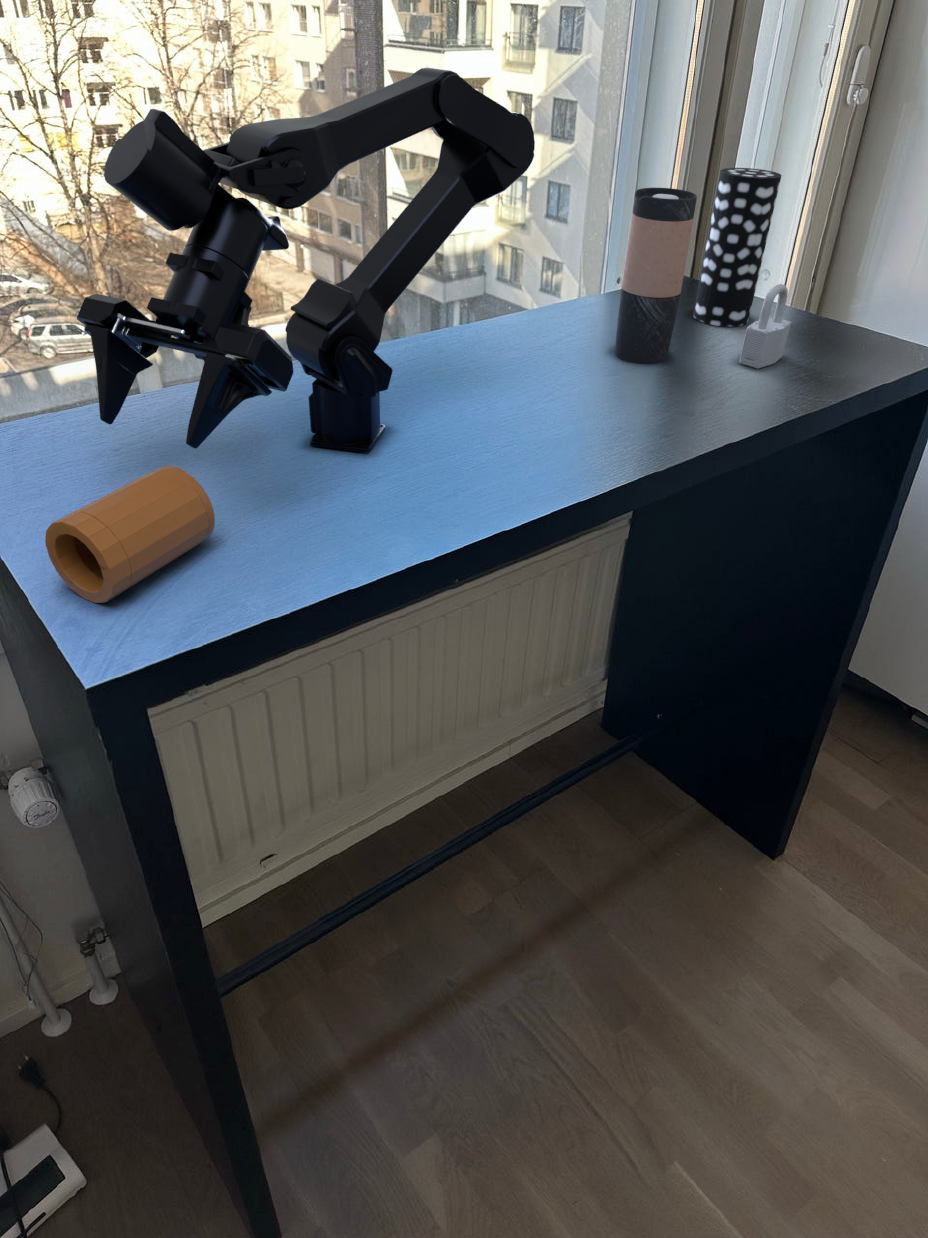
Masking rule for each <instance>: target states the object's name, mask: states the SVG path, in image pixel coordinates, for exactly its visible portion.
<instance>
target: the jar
mask: <svg viewBox="0 0 928 1238" xmlns="http://www.w3.org/2000/svg"><path fill="white" fill-rule="evenodd" d="M215 518H216V517H215V512H214V508H213V504H212V502H211V500H210V498H209V496H208V494H207V491H206V490H205V489H204V488H203V487H202V485H201V483H199V482H198V480H196V478H195V477H193V476H192V475H191V474H190V473H188V471H186V470H184V469H182V468H179V467H177V466H171V465H167V466H166V465H165V466H162V467H160V468H158V469H156V470H153V471H150V472H149V473H147V474H145V475H142V476H141V477H139V478H137V479H135V480H133V481H130V482H129V483H127V484H125V485H123V486H121V487H119V488H117V489H115V490H113V491H111V492H110V493H108V494H105V495H103V496H101V497H100V498H98V499H96V500H94V501H92V502H90V503H88V504H86V505H83V506H82V507H80V508H79V509H76V510H74V511H72V512H71V513H69V514H67V515H65V516H62V517H61V518H59V519H57V520H54V521H53V522H51V524H50V525H49V526H48V527H47V529H46V531H45V547H46V551H47V553H48V557H49V560H50V562H51V563H52V566H53V567H54V569H55V571H56V573H57V574H58V576H59V577H60V578H61V580H62V581H63V582H64V583H65V584H66V586H68V587H69V588H70V590H72V591H73V592H74V593H76V594H77V595H78V596H79V597H80V598H83V599H84V600H87V601H89V602H91V603H93V604H103V603H108V602H109V601H111V600H112V599H114V598H115V597H117V596H119V595H120V594H123V592H125V591H127V590H128V589H130V588H131V587H133V586H135V585H136V584H138V583H139V582H141V581H143V580H144V579H146V578H148V577H149V576H150V575H152V574H154V573H155V572H157V571H158V570H160V569H162V568H163V567H165V566H166V565H168V564H170V563H171V562H173V561H174V560H176V559H177V558H179V557H181V556H183V555H184V554H186V553H187V552H189V551H190V550H192V549H194V548H195V547H197V546H199V545H200V544H202V542H203V541H206V540H207V539H209V537H210V536H211V535H212V534H213V532H214V529H215V524H216V519H215Z"/></svg>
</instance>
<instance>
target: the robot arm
mask: <svg viewBox="0 0 928 1238" xmlns="http://www.w3.org/2000/svg"><path fill="white" fill-rule="evenodd" d="M428 129H431V131H432V132H433V134H434V135H435V136H436V137H438V138H439V139H440V140H441V141H442V142H441V146H440V150H439V155H438V160H437V166H436V170H435V171H434V172H433V174H432V175H431V177H430V178H429V179H428V180H427V181H426V183H425V184H424V185H423V186H422V188H421V189H420V190H419V191H418V192H417V194H416V195H415V196H414V197H413V198H412V200H411V201H410V202H409V203H408V204H407V205H406V207H405V208H404V209H403V211H402V212H400V214H399V215H398V217H397V218H396V219H395V220H394V221H393V222H392V223H391V224H390V226H389V227H388V228H387V229H386V231H385V232H384V233H383V234H382V236H381V237H380V238H379V239H378V240H377V242H376V243H375V244H374V245H373V246H372V248H371V249H370V250H369V251H368V253H367V254H366V255H365V256H364V257H363V259H362V260H361V261H360V262H359V263H358V265H357V266H356V267H355V268H354V269H353V271H352V272H351V273H350V274H349V275H348V276H347V277H346V278H345V279H344V280H341V281H339V282H337V283H331V282H329V281H327V280H324V279H322V278H317V279H315V281H313V283H311V284H310V286H309V288H308V290H307V291H306V293H305V295H304V296H303V297H302V298H301V299H300V300H298V302H297V303H295V304H293V305H291V306H290V310H291V311H293V313H292V315H291V316H290V318H289V320H288V321H287V323H286V326H285V332H286V333H285V334H286V337H285V338H286V340H285V342H286V346H287V350H288V352H289V353H290V354H289V353H288V352H287V351H286V350H285V349H284V348H283V347H282V346H281V345H280V344H279V343H278V342H277V340H275V339H274V338H273V337H272V336H271V335H270V334H269V333H268V332H267V331H266V329H264V328H263V329H262V328H257V327H253V326H250V324H249V319H250V314H251V311H252V309H253V306H252V303H253V299H252V297H251V296H250V295H249V294H248V293H247V288H248V286H249V283H250V281H251V278H252V276H253V273H254V271H255V268H256V266H257V264H258V261H259V259H260V256H261V253H262V252H264V251H265V252H268V251H283V250H288V249H289V247H290V242H289V239H288V236H287V234H286V232H285V230H284V229H283V226H282V221H281V217H280V216H278V215H274V216H272V215H271V216H267V215H265V213H263V212H262V211H261V210H260V209H259V208H258V207H257V206H256V205H254V204H253V202H251V201H250V200H249V199H247V198H245V197H235V196H234V195H232V194H231V193H229V192H228V191H227V190H226V189H225V188H223V186H227V187H229V188H232V189H235V190H238V191H239V192H240V193H241V194H243V195H245V196H246V197H248V198H251V199H254V200H257V201H260V202H263V203H265V204H268V205H271V206H274V207H276V208H279V209H283V210H293V209H297V208H301V207H302V206H303V205H305V204H307V203H308V202H309V201H310V200H312V199H313V198H315V197H316V196H317V195H319V194H320V193H322V192H324V190H326V189H327V188H328V187H330V185H331V184H332V182H333V181H334V179H335V178H336V176H337V175H338V173H340V172H341V171H342V170H343V169H345V168H347V166H349V165H350V164H352V163H355V162H357V161H359V160H361V159H364V158H366V157H368V156H370V155H372V154H375V153H377V152H379V151H381V150H384V149H386V148H389V147H390V146H393V145H396V144H397V143H399V142H402V141H404V140H406V139H408V138H410V137H414V136H415V135H418V134H419V133H422V132H424V131H426V130H428ZM535 141H536V140H535V132H534V128H533V125H532V123H531V121H530V120H529V118H528V117H527V116H525V114H523V113H520V112H515V111H510V110H509V109H507V108H506V107H505V106H503V105H502V104H500V103H498V102H497V101H495V100H494V99H492V98H490V97H488V96H487V95H485V94H484V93H482V92H481V91H479V90H477V89H476V88H474V87H473V86H472V85H471V84H470V83H469V82H467V80H465V79H464V78H463V77H462V76H460V75H459V74H458V72H455V71H453V70H447V69H440V68H433V67H422V68H419V69H418V70H416V71H415V72H413V73H412V74H411V76H408V77H405V78H403V79H401V80H398V81H395V82H393V83H390V84H389V85H386V86H384V87H381V88H379V89H377V90H374V91H372V92H369V93H366V94H365V95H361V96H360V97H358V98H355V99H353V100H350V101H348V102H345V103H342V104H340V105H338V106H335V107H333V108H330V109H328V110H326V111H324V112H321V113H319V114H316V115H310V116H305V117H304V116H303V117H289V118H277V119H270V120H264V121H259V122H258V121H257V122H251V123H246V124H243V125H241V126H240V127H238V128H237V129H235V130H234V131H233V132H232V133H231V135H230V136H229V141H228V142H224V143H221V144H218V145H214V146H211V147H208V148H205V149H202V148H201V147H200V146H199V145H198V144H197V143H196V142H195V141H193V140H192V139H191V138H190V136H188V134H186V133H185V132H184V131H183V130H182V129H181V127H180V126H179V124H178V123H177V122H176V121H175V120H174V119H173V118H172V117H171V116H170V115H169V114H168V113H167V112H166V111H164V110H160V109H157V108H150V109H149V111H148V112H147V114H146V116H145V118H144V120H141V121H139V122H137V123H136V124H135V125H133V126H132V127H131V128H130V129H129V130H128V131H127V132H125V134H124V135H123V136H122V138H118V139H117V140H116V141H115V142H114V144H113V146H112V148H111V150H110V152H109V153H108V156H107V159H106V161H105V165H104V170H103V176H104V181H105V182H106V183H107V184H108V185H109V186H111V188H113V189H114V190H116V192H118V193H119V194H121V195H122V196H123V197H124V198H126V199H127V200H128V201H130V202H131V203H132V204H134V205H135V206H136V207H137V208H138V209H139V210H141V211H142V212H143V213H145V214H146V215H147V216H149V217H150V218H151V219H152V220H154V221H155V222H156V223H158V224H159V225H160V226H161V227H162V228H164V229H165V230H166V231H168V232H169V231H170V232H172V231H173V232H174V231H178V230H180V229H182V228H184V229H191V231H190V234H189V236H188V238H187V241H186V243H185V245H184V247H183V250H182V252H181V254H179V253H174V252H169V253H168V256H167V258H166V261H165V265H166V266H167V267H168V268H169V269H171V270H172V271H173V274H172V276H171V279H170V281H169V284H168V286H167V288H166V291H165V293H164V296H163V297H162V298H157V297H153V296H151V297H150V298H149V301H148V304H147V306H146V309H147V310H149V312H151V313H152V314H153V315H154V317H155V320H152V319H149V317H147V316H146V315H145V314H144V313H143V312H141V311H140V310H139V309H138V308H136V306H134V305H133V304H132V303H130V302H129V301H128V300H127V299H123V298H119V297H114V296H109V295H104V294H100V293H95V294H92V295H88V296H85V297H84V299H83V302H82V304H81V306H80V309H79V311H78V313H77V314H76V320H77V321H78V322H80V323H81V324H82V325H84V329H83V331H84V333H86V334H87V335H88V336H89V337H90V340H91V346H92V351H93V357H94V363H95V371H96V372H95V373H96V383H97V397H98V407H99V409H98V410H99V419H100V420H101V421H102V422H103V423H104V424H107V425H113V423H114V422H115V420H116V418H117V417H118V415H119V413H120V412H121V410H122V407H123V405H124V404H125V401H126V399H127V397H128V395H129V392H130V391H131V388H132V386H133V384H134V382H135V380H136V378H137V376H138V374H139V373H141V372H143V371H146V370H147V369H149V368H151V367H153V366H154V363H153V362H152V361H150V360H149V359H148V358H150V357H151V356H152V355H154V354H155V353H157V352H158V350H159V347H162V348H167V349H171V350H175V351H178V352H179V351H180V352H184V353H188V354H192V355H193V356H194V357H195V358H196V359H198V360H202V361H203V362H204V363H203V366H202V369H201V374H200V378H199V382H198V386H197V388H196V389H197V390H196V393H195V397H194V402H193V405H192V410H191V413H190V417H189V421H188V425H187V432H186V439H185V444H186V445H187V446H189V447H190V448H191V449H198V448H199V447H200V446H201V445H202V444H203V442H204V441H206V439H207V438H208V437H210V435H211V434H212V433H213V432H214V430H215V429H216V428H217V427H218V426H219V425H220V424H221V423H222V422H223V421H224V420H225V418H227V416H229V414H230V413H232V411H234V410H235V409H236V408H237V407H238V406H239V405H240V404H242V403H243V402H244V401H245V400H249V399H252V398H255V397H260V396H265V397H268V396H270V395H271V394H272V393H273V391H272V390H275V391H280V392H287V390H288V387H289V385H290V383H291V380H292V378H293V375H294V363H293V359H295V360H296V361H298V362H299V363H300V365H301V368H302V370H303V372H304V374H305V375H307V376H310V377H313V378H315V379H314V381H313V382H312V383H311V388H312V390H311V391H312V392H311V393H310V394H309V396H308V409H309V411H308V412H309V424H310V432H311V433H312V434H313V435H312V436H311V437H310V439H309V445H310V446H313V447H320V448H327V449H334V450H341V451H348V452H349V451H350V452H357V453H370V452H371V450H372V449H373V448H374V446H375V444H376V443H377V442H378V441H379V439H380V438H381V437H382V435H383V434H384V433H385V431H386V425H385V424H382V423H381V397H380V393H381V392H384V391H388V389H389V386H390V382H391V378H392V375H393V372H394V371H393V368H392V367H391V366H390V365H389V364H387V362H386V361H385V360H384V359H382V358H381V357H380V356H379V355H378V354H377V353H376V350H377V348H378V346H379V345H380V343H381V339H382V338H381V337H382V332H383V328H384V322H385V318H386V317H385V316H386V314H387V312H388V311H389V310H390V308H391V307H392V306H393V305H394V303H396V301H397V300H398V298H399V297H401V295H402V294H403V293H404V292H405V290H407V288H408V286H409V285H410V284H411V283H412V282H413V281H414V279H415V278H416V277H417V276H418V274H419V273H420V272H421V271H422V270H423V268H424V267H425V266H426V265H427V263H428V262H430V260H431V259H432V257H433V256H434V255H435V254H436V253H437V251H438V250H439V249H440V248H441V246H443V244H444V243H445V241H447V239H448V238H449V237H450V236H451V235H452V234H453V232H454V231H455V229H456V228H457V227H458V226H459V225H460V224H461V222H462V221H463V220H464V219H465V217H466V216H467V215H468V214H469V213H470V211H471V210H472V209H473V208H474V207H476V205H478V204H480V203H482V202H484V201H487V200H489V199H491V198H493V197H495V196H497V195H500V194H501V193H504V192H505V191H506V190H507V189H509V188H510V187H511V186H512V185H513V184H514V183H515V182H516V181H517V180H519V179H520V178H521V177H522V176H523V175H524V174H525V173H526V172H527V171H528V169H529V168H530V166H531V165H532V163H533V161H534V159H535V149H536V148H535V145H536V144H535V143H536V142H535ZM220 184H221V185H223V186H221V185H220ZM292 357H293V359H292Z"/></svg>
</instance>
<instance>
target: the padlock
mask: <svg viewBox="0 0 928 1238" xmlns="http://www.w3.org/2000/svg"><path fill="white" fill-rule="evenodd" d="M788 295H789V291H788V288H787V286H786V284H782V283H778V284H776V285H774V286H772V287H771V288H770V289H769V290H768V292H767V293H766V295H765V297H764V299H763V303H762V307H761V310H760V314H759V318H758V320H755V321H754V322H752V323H751V324H750V325H748V326H747V327H746V330H745V335H744V339H743V343H742V347H741V351H740V356H739V361H738V364H740V365H745V366H748V367H752V368H755V369H757V370H758V369H761V368H765V367H768V366H771V365H774V364H776V363H777V362H778V361H779V360H781V358H783V357H784V352H785V348H786V344H787V340H788V337H789V333H790V329H791V324H792V321H790V320H785V319H783V317H784V312H785V309H786V304H787V300H788ZM776 297H777V301H776V305H775V310H774V314H773V316H770V314H771V310H772V306H773V304H774V301H775V299H776Z"/></svg>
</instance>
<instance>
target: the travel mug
mask: <svg viewBox="0 0 928 1238" xmlns="http://www.w3.org/2000/svg"><path fill="white" fill-rule="evenodd" d="M697 198H698V196H697V194H696V193H694V192H691V191H689V190H688V191H687V190H684V189H679V188H670V187H642V188H640V189H636V190H635V192H634V199H633V206H632V212H631V213H632V214H631V219H630V226H629V232H628V239H627V247H626V253H625V260H624V266H623V273H622V279H621V289H620V296H619V304H618V305H619V306H618V312H617V313H618V315H617V322H616V323H617V324H616V331H615V332H616V334H615V342H614V344H615V345H614V355H615V356H616V357H617V358H618V359H621V360H623V361H625V362H628V363H634V364H640V365H655V364H660V363H663V362H664V361H666V360H667V359H668V355H669V351H670V347H671V342H672V336H673V332H674V328H675V323H676V319H677V312H678V307H679V303H680V299H681V294H682V289H683V282H684V277H685V270H686V265H687V259H688V252H689V248H690V247H689V246H690V240H691V234H692V229H693V223H694V216H695V210H696V205H697V201H698V199H697Z"/></svg>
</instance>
